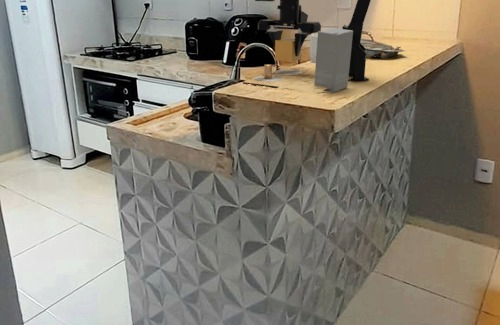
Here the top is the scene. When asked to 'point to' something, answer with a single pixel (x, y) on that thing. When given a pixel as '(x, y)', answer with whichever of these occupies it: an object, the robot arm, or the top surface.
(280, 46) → the tan wooden cube
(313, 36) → the white cup
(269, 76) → the pigtail post
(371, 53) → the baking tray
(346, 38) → the skincare box
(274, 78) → the board
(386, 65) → the top surface
